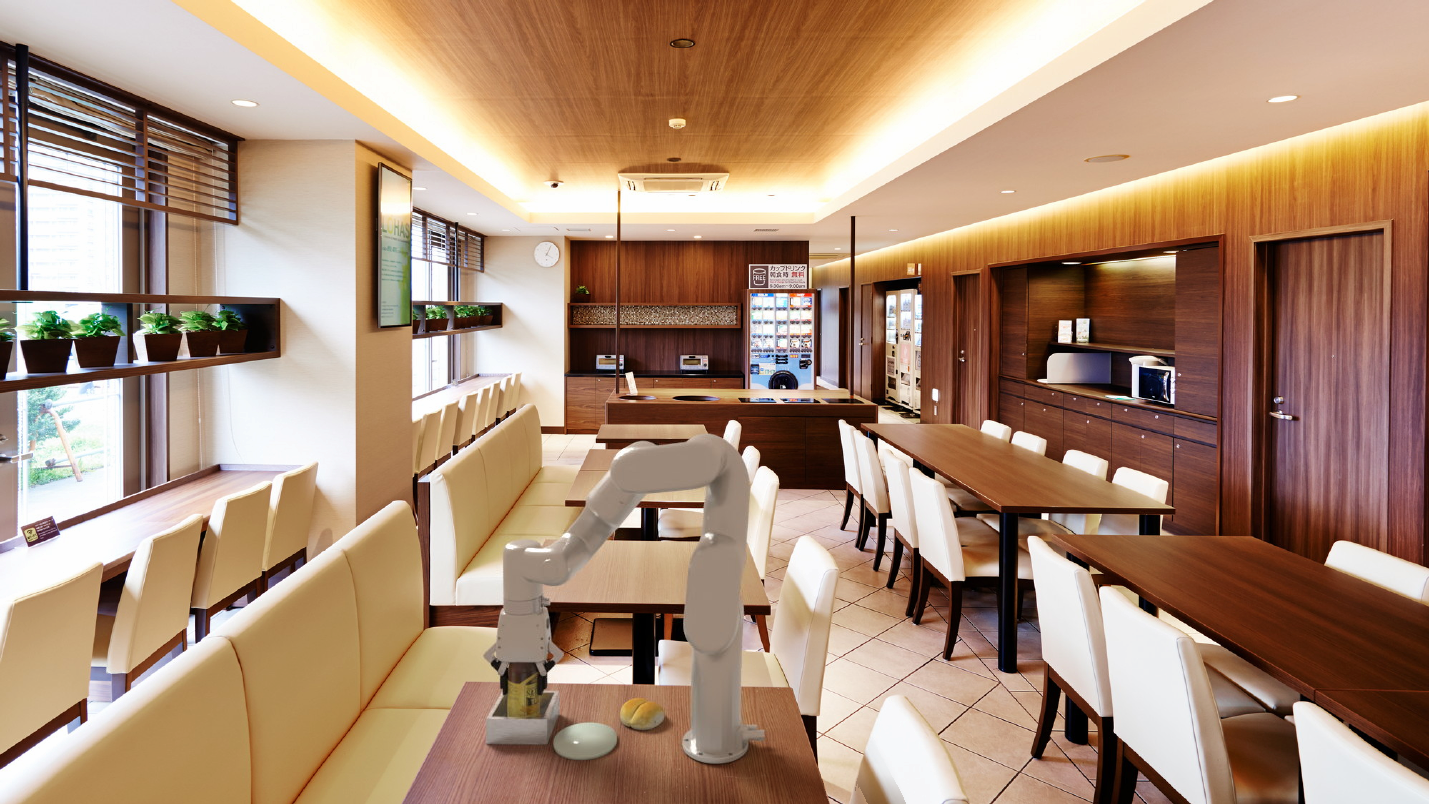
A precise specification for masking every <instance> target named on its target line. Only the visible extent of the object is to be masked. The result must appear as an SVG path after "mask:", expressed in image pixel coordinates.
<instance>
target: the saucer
mask: <svg viewBox="0 0 1429 804" xmlns="http://www.w3.org/2000/svg"><path fill="white" fill-rule="evenodd" d="M617 736H618V735H617V732H616V731H615V729H614V728H612V727H611V726H609V725H607V724H603V723H599V722H581V723H575V724H571V725H569V726H566V727H564V728H563V729H561V730H560V731H558V732H557V733H556V734H555V736H554V738H553V749H554V751H555V752H556V753H557V755H559V756H560V757H563V758H565V759H568V760H572V761H574V760H575V761H587V760H588V761H589V760H593V759H597V758H600V757H603V756H605V755H607V754H609V753H610V752H611V751H613V749H615V747H616V745H617V743H618V737H617Z"/></svg>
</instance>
